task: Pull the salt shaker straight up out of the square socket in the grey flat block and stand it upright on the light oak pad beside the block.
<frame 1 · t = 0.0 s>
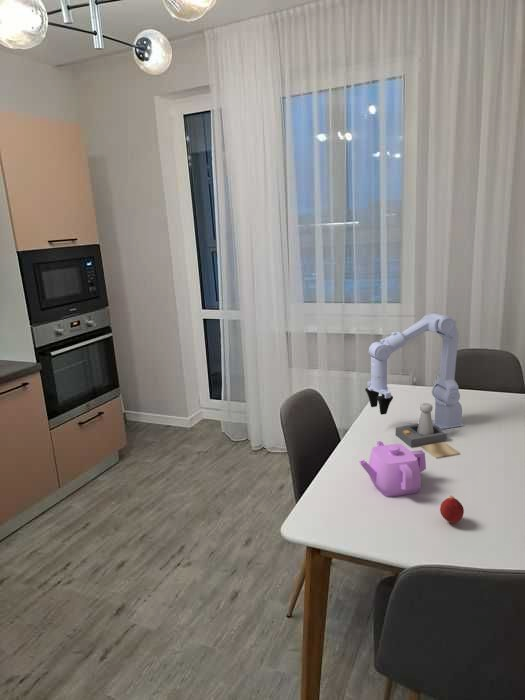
hand: (378, 410, 181), 10 cm above the table, tool pointing down, fingers open, 7 cm apart
grey flat block: (420, 438, 179), on the table
salt shaker: (425, 437, 180), resting in grey flat block
teakettle: (391, 484, 151), on the table
oak pad: (440, 450, 169), on the table
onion: (451, 523, 130), on the table
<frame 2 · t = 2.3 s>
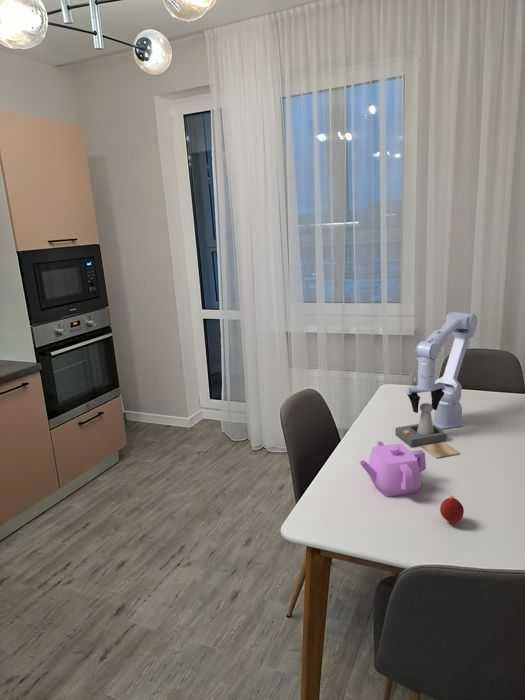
hand: (424, 410, 177), 10 cm above the table, tool pointing down, fingers open, 7 cm apart
nothing on the table moved.
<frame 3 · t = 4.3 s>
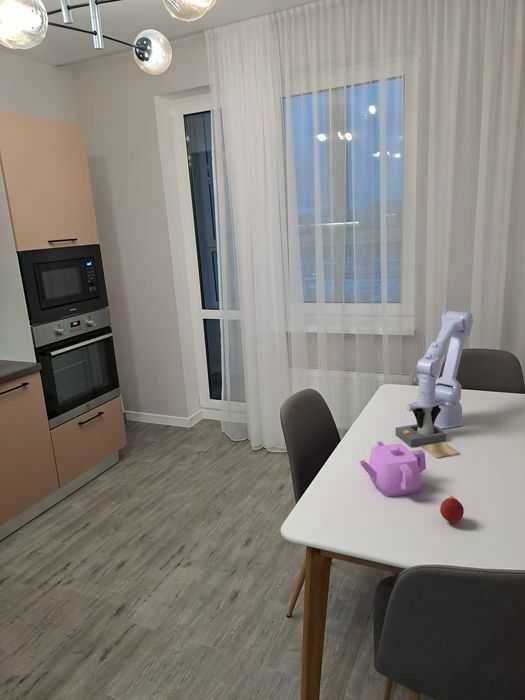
hand: (425, 426, 179), 4 cm above the table, tool pointing down, fingers closed on salt shaker, 4 cm apart
salt shaker: (425, 437, 180), resting in grey flat block, touching gripper
everything else where it was.
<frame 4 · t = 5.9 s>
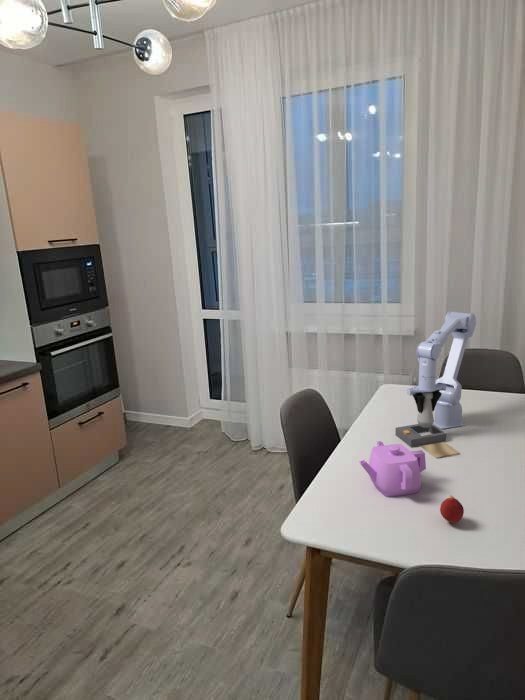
hand: (425, 411, 177), 10 cm above the table, tool pointing down, fingers closed on salt shaker, 4 cm apart
salt shaker: (425, 426, 178), point 5 cm above the table, touching gripper
everything else where it was.
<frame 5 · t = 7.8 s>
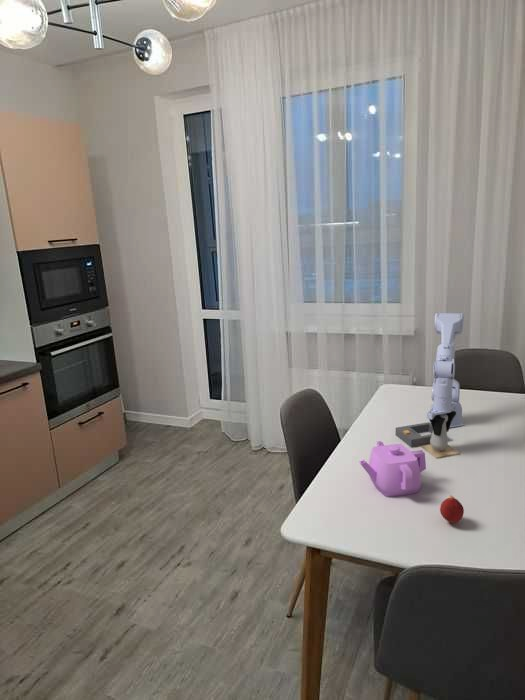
hand: (441, 432, 168), 7 cm above the table, tool pointing down, fingers closed on salt shaker, 4 cm apart
salt shaker: (438, 449, 170), resting on oak pad, touching gripper
everything else where it was.
when the fingers open (6 cm above the table, at t = 8.8 s): salt shaker stays where it is, resting on oak pad.
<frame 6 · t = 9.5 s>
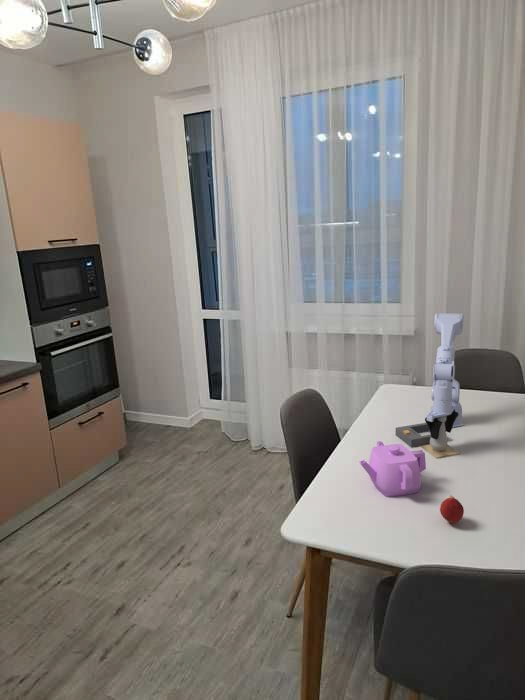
hand: (441, 435, 168), 6 cm above the table, tool pointing down, fingers open, 7 cm apart
salt shaker: (438, 449, 170), resting on oak pad
everything else where it was.
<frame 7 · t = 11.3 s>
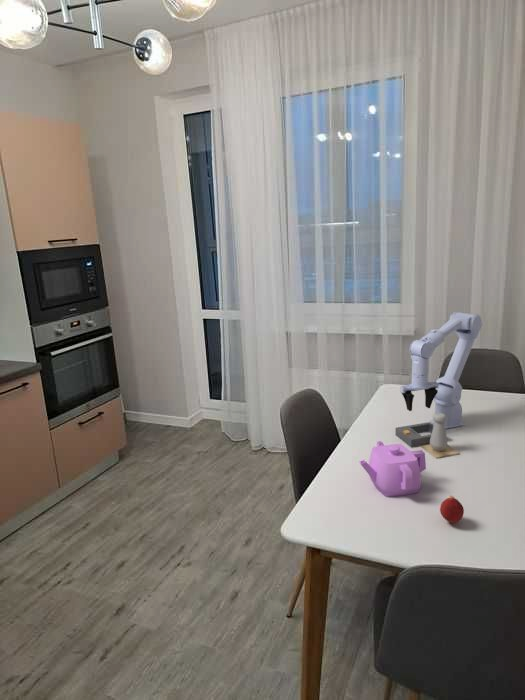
hand: (418, 408, 180), 10 cm above the table, tool pointing down, fingers open, 7 cm apart
nothing on the table moved.
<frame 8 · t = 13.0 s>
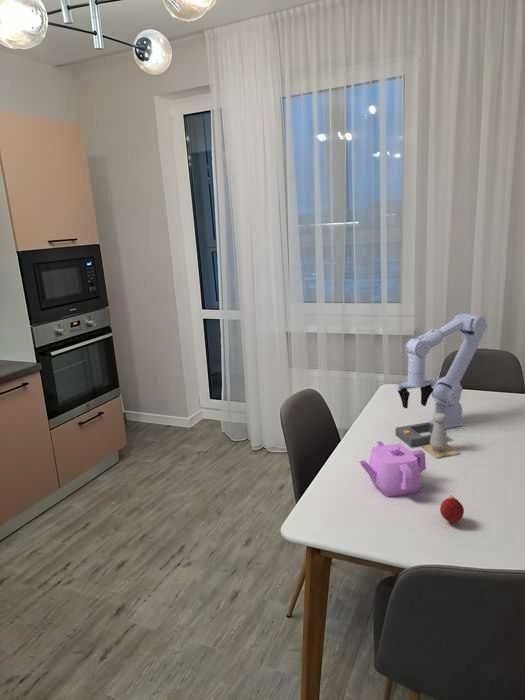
hand: (414, 406, 182), 10 cm above the table, tool pointing down, fingers open, 7 cm apart
nothing on the table moved.
at the end: salt shaker inside the target area (0.7 cm from its centre), resting on oak pad; salt shaker tilted 0°; the gripper is holding nothing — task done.
